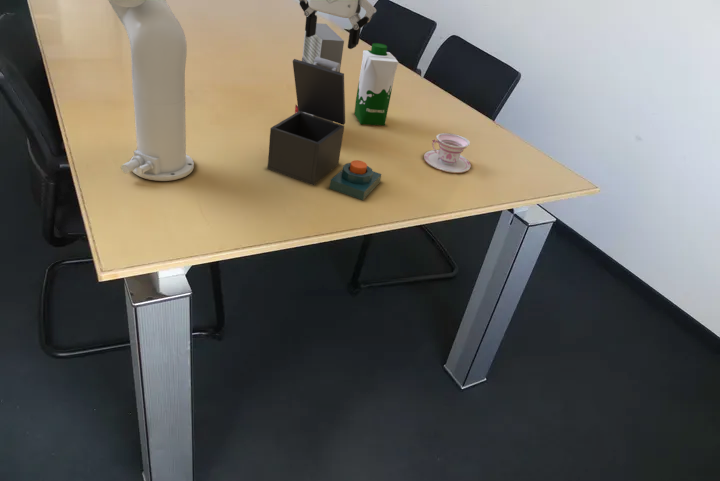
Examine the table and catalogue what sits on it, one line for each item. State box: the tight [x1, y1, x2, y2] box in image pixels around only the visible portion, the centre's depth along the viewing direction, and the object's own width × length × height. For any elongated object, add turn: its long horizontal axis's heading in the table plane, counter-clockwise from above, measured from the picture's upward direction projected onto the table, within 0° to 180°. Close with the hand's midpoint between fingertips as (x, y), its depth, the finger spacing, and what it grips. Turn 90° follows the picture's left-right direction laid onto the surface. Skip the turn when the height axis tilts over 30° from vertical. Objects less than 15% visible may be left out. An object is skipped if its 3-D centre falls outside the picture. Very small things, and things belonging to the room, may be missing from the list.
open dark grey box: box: [267, 111, 345, 186], centre depth 125 cm, size 13×12×10 cm
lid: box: [292, 57, 346, 126], centre depth 123 cm, size 13×12×5 cm
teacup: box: [423, 132, 472, 174], centre depth 140 cm, size 12×12×6 cm
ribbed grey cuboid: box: [294, 22, 345, 123], centre depth 138 cm, size 14×6×25 cm, turn 21°
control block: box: [329, 162, 382, 201], centre depth 123 cm, size 10×8×4 cm
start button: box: [350, 159, 368, 174], centre depth 122 cm, size 4×4×2 cm
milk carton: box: [354, 42, 399, 126], centre depth 152 cm, size 9×9×20 cm
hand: (331, 41), depth 118 cm, fingers open, 9 cm apart
